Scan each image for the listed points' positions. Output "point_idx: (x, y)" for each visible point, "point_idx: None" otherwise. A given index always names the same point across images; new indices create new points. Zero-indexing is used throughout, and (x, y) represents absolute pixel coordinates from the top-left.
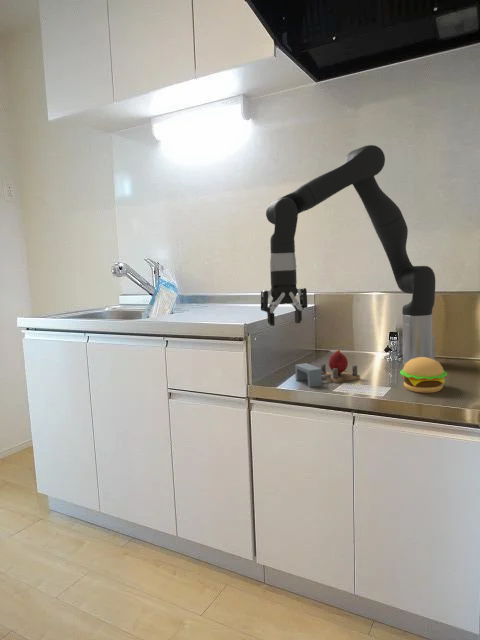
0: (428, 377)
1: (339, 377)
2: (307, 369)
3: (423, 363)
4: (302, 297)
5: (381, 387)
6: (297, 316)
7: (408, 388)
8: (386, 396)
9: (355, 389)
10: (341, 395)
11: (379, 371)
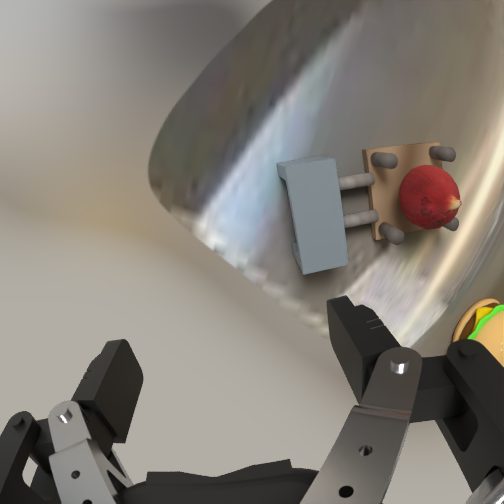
0: None
1: (397, 222)
2: (303, 257)
3: None
4: (474, 473)
5: (433, 306)
6: (345, 367)
7: (453, 338)
8: None
9: (384, 306)
10: None
11: (496, 178)
